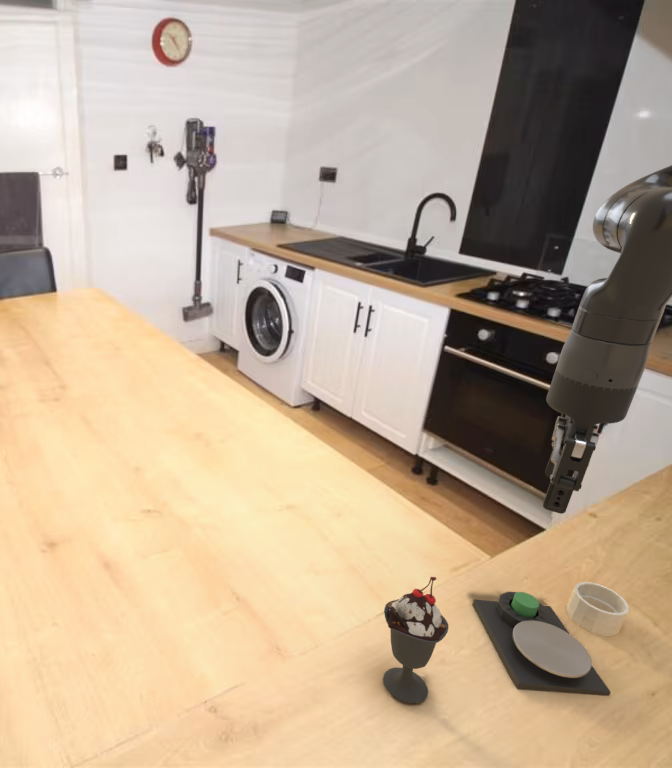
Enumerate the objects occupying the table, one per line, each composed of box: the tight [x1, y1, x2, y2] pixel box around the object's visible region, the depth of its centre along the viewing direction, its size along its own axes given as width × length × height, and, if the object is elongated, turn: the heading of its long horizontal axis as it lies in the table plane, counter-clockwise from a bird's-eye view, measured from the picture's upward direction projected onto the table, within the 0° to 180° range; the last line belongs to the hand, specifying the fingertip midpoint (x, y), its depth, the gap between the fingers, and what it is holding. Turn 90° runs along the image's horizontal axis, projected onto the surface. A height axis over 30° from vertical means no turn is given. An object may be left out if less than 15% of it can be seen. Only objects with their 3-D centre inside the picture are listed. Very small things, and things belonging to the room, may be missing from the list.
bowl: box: [565, 581, 631, 637], centre depth 73 cm, size 6×6×4 cm
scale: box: [472, 591, 611, 697], centre depth 69 cm, size 10×13×3 cm
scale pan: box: [512, 620, 593, 678], centre depth 66 cm, size 8×8×1 cm
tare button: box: [511, 591, 540, 618], centre depth 72 cm, size 3×3×2 cm
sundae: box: [382, 576, 449, 704], centre depth 62 cm, size 7×7×15 cm
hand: (553, 493), depth 67 cm, fingers open, 8 cm apart
